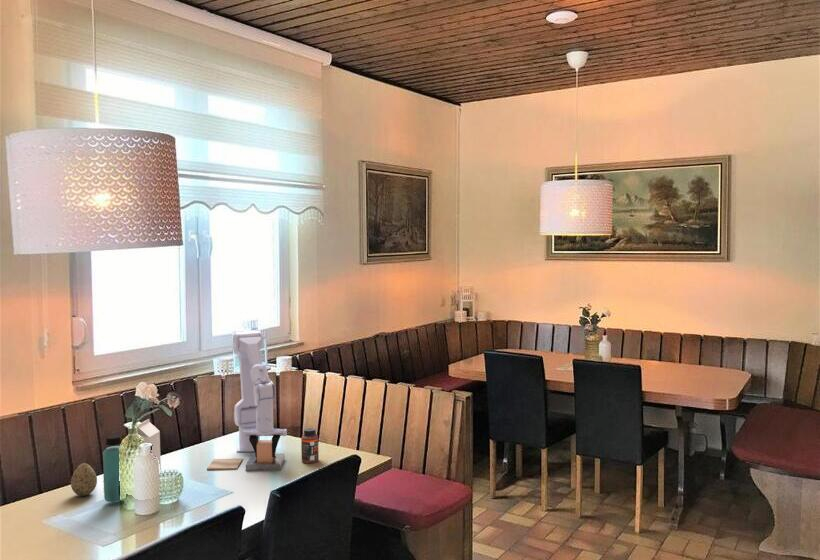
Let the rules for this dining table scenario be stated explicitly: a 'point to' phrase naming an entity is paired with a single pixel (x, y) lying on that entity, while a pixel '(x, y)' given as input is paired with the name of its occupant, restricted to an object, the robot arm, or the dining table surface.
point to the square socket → (265, 463)
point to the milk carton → (151, 437)
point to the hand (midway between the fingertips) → (265, 456)
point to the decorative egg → (83, 480)
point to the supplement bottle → (309, 446)
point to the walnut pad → (225, 464)
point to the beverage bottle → (111, 469)
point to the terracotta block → (264, 451)
